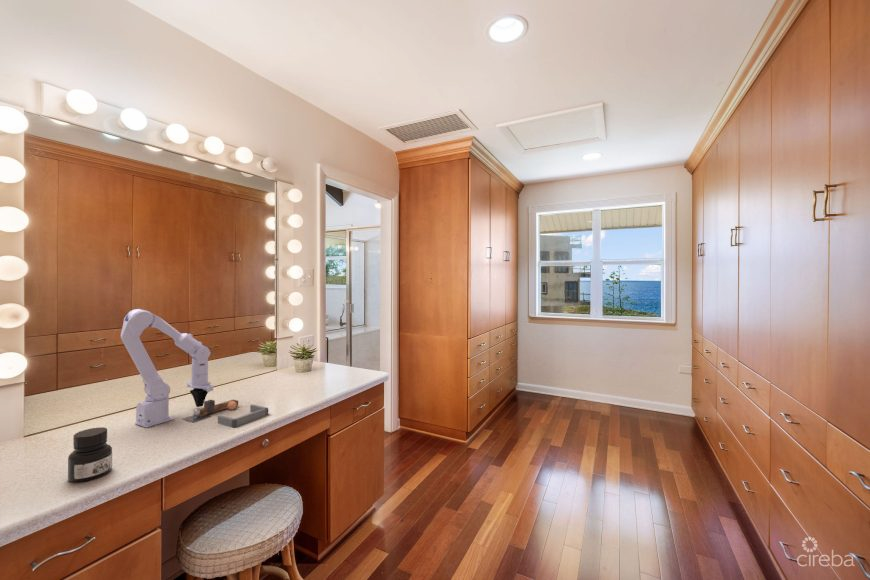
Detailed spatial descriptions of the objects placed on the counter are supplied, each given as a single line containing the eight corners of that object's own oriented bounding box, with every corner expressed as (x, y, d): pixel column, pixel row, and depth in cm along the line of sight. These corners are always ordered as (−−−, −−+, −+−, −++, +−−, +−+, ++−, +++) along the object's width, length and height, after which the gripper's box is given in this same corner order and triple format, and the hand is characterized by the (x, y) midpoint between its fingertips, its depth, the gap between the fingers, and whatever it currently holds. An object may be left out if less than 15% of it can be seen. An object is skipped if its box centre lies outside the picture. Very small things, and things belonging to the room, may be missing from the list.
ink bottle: (76, 487, 94) (76, 441, 94) (58, 480, 97) (58, 436, 97) (120, 469, 103) (121, 428, 103) (102, 463, 106) (102, 423, 106)
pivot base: (193, 422, 138) (193, 413, 138) (182, 419, 141) (182, 410, 141) (211, 416, 144) (211, 408, 144) (200, 413, 147) (200, 405, 147)
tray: (233, 427, 133) (233, 420, 133) (217, 423, 137) (217, 416, 137) (268, 414, 147) (268, 408, 147) (252, 411, 151) (253, 404, 151)
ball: (230, 411, 150) (230, 403, 150) (225, 410, 152) (225, 401, 152) (238, 408, 154) (238, 400, 153) (233, 407, 155) (233, 399, 155)
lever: (205, 416, 143) (205, 404, 143) (199, 414, 145) (199, 402, 144) (238, 405, 156) (238, 394, 156) (232, 404, 157) (232, 393, 157)
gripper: (220, 373, 150) (220, 406, 150) (198, 369, 156) (198, 400, 156) (203, 377, 144) (203, 411, 144) (181, 373, 150) (181, 405, 150)
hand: (199, 406), depth 150 cm, fingers closed
